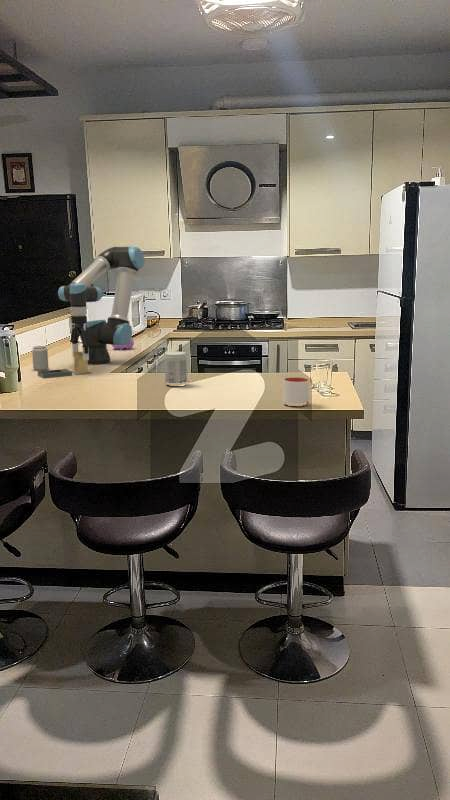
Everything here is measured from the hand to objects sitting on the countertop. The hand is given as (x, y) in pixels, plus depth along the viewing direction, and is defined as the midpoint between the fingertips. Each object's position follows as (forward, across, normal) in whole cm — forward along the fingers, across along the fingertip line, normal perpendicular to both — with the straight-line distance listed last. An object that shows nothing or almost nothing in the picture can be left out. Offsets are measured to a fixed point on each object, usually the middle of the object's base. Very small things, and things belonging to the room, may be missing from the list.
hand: (80, 358), depth 305 cm
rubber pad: (+7, 0, 0) cm, 7 cm away
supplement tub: (+7, +53, +24) cm, 59 cm away
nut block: (+7, 0, 0) cm, 7 cm away
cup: (+8, +112, +44) cm, 121 cm away
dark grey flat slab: (+7, 0, -14) cm, 15 cm away
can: (+7, -20, -14) cm, 26 cm away
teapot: (+8, -68, +54) cm, 87 cm away
